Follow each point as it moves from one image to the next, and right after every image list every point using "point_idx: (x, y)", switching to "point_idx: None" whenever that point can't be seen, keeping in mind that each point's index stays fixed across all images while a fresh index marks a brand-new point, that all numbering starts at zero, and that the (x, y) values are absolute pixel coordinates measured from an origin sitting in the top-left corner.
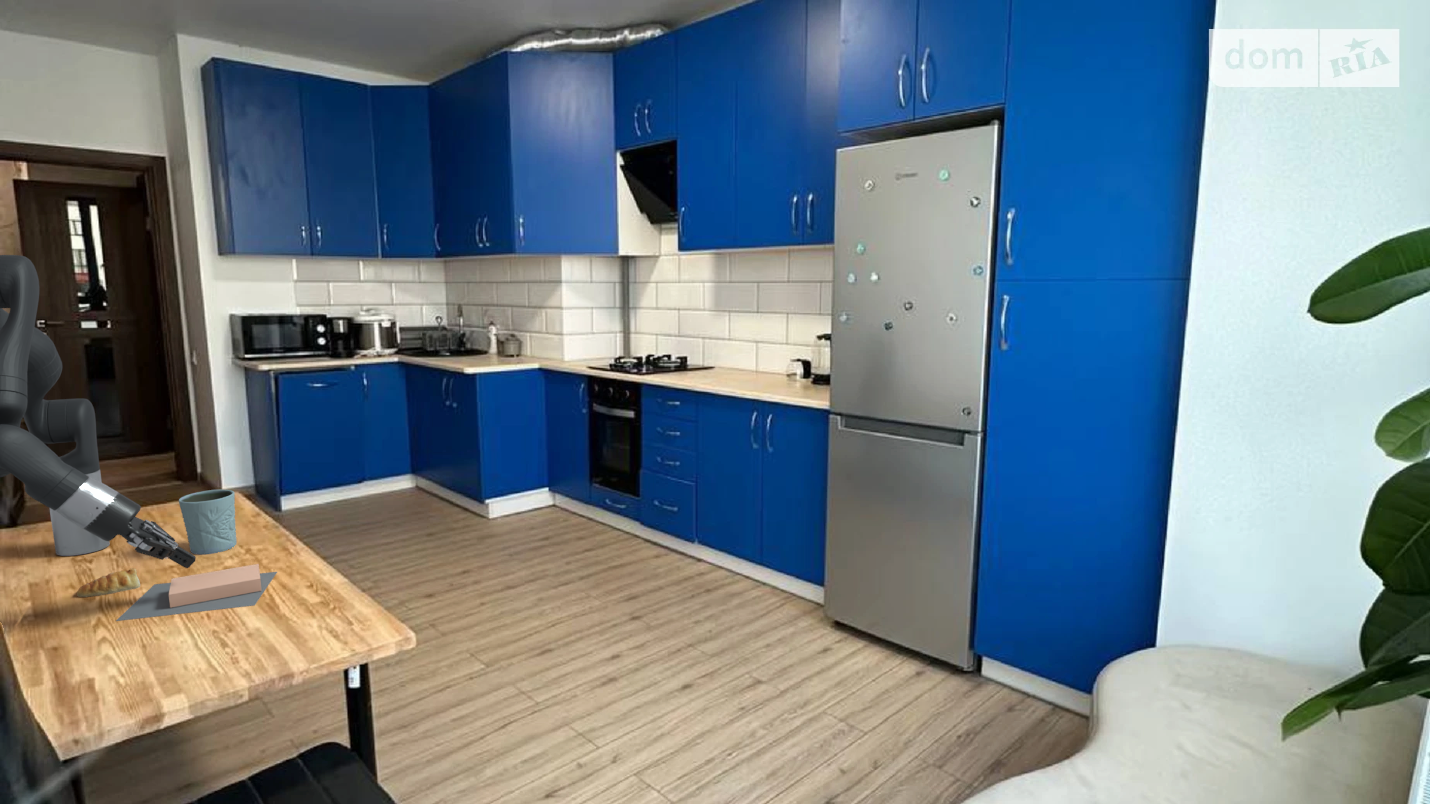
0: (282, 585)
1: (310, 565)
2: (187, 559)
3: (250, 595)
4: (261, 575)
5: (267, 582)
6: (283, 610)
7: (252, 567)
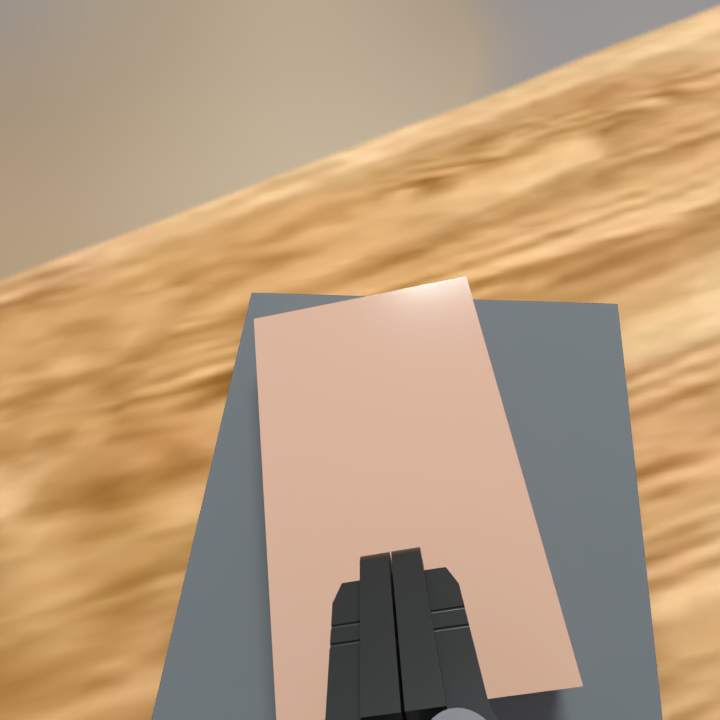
0: (385, 265)
1: (214, 217)
2: (459, 598)
3: (493, 338)
4: None
5: None
6: (657, 220)
7: (293, 333)
